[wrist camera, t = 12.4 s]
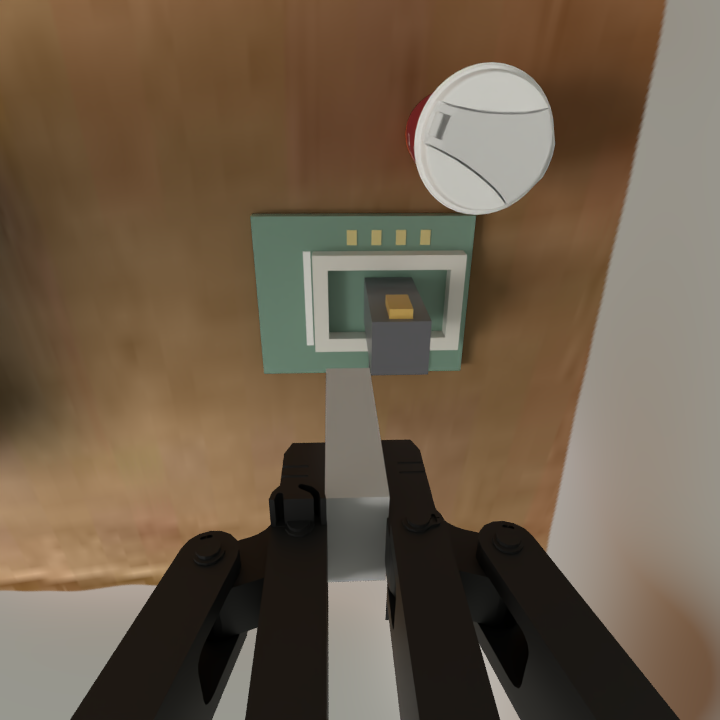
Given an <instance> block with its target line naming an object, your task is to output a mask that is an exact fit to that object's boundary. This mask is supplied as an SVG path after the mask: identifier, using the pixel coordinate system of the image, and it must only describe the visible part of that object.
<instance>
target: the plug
mask: <svg viewBox="0 0 720 720" xmlns="http://www.w3.org/2000/svg"><path fill="white" fill-rule="evenodd" d="M431 325H432V321H431V319H430V316H429V314H428V312H427V310H426V308H425V305H424V303H423V301H422V299H421V297H420V294H419V292H418V290H417V288H416V286H415V283H414V281H413V279H412V277H371V278H364V326H365V334H366V341H367V348H368V356H369V363H370V370H371V375H416V374H428V367H429V353H430V339H431Z"/></svg>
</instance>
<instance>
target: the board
mask: <svg viewBox="0 0 720 720" xmlns="http://www.w3.org/2000/svg"><path fill="white" fill-rule="evenodd" d="M250 218H251V229H252V241H253V252H254V263H255V275H256V286H257V298H258V309H259V320H260V332H261V343H262V355H263V366H264V374H274V373H326V369H331V368H370V363H369V356H368V348H367V341H366V334H365V326H364V278H371V277H412V279H413V281H414V283H415V286H416V288H417V290H418V292H419V294H420V297H421V299H422V301H423V303H424V305H425V308H426V310H427V312H428V314H429V316H430V319H431V321H432V325H431V339H430V353H429V367H428V371H459V370H460V367H461V358H462V348H463V338H464V328H465V319H466V309H467V299H468V289H469V279H470V270H471V260H472V250H473V240H474V231H475V221H476V215H473V214H465V213H326V214H252V215H251V216H250ZM370 373H371V370H370Z"/></svg>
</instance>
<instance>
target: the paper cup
mask: <svg viewBox="0 0 720 720" xmlns="http://www.w3.org/2000/svg"><path fill="white" fill-rule="evenodd" d="M405 137H406V144H407V148H408V151H409V153H410V155H411V157H412V159H413V160H414V162H415V163H416V166H417V169H418V172H419V175H420V177H421V179H422V181H423V183H424V185H425V187H426V188H427V189H428V191H429V192H430V193H431V195H432V196H433V197H434V198H436V199H437V200H438V201H439V202H440V203H442V204H443V205H445V206H446V207H448V208H450V209H452V210H454V211H457V212H461V213H465V214H473V215H480V214H489V213H493V212H497V211H499V210H502V209H504V208H507V207H508V206H510V205H512V204H514V203H515V202H517V201H518V200H519V199H521V198H522V197H523V196H524V195H526V194H527V192H528V191H529V190H530V189H531V188H532V187H533V186H534V185H535V184H536V183H537V182H538V181H539V180H540V179H542V178H543V176H544V174H545V172H546V170H547V168H548V166H549V164H550V161H551V158H552V156H553V151H554V147H555V137H554V124H553V116H552V111H551V107H550V105H549V102H548V99H547V97H546V95H545V94H544V92H543V90H542V89H541V87H540V86H539V85H538V84H537V82H536V81H535V80H534V79H533V78H532V77H530V76H529V75H528V74H527V73H525V72H524V71H522V70H520V69H518V68H516V67H514V66H511V65H507V64H504V63H495V62H490V63H480V64H476V65H472V66H469V67H466V68H464V69H462V70H460V71H458V72H456V73H455V74H453V75H452V76H450V77H449V78H447V79H446V80H445V81H444V82H443V83H442V84H441V85H439V86H438V88H437V89H436V90H435V91H434V92H433V93H432V94H430V95H428V96H427V97H425V98H424V99H423V100H422V101H420V102H419V103H418V104H417V106H416V107H415V108H414V109H413V111H412V113H411V114H410V116H409V119H408V122H407V125H406V133H405Z"/></svg>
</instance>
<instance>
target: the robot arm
mask: <svg viewBox="0 0 720 720" xmlns="http://www.w3.org/2000/svg"><path fill="white" fill-rule="evenodd" d="M269 508H270V520H271V525H270V526H269V527H268V528H267V529H266V530H264V531H263V532H261V533H259V534H257V535H255V536H252V537H249V538H246V539H242V540H239V541H237V540H236V539H235V538H234V537H233V536H232V535H231V534H228V533H226V532H223V531H209V532H205V533H202V534H199V535H197V536H195V537H193V538H192V539H190V540H189V541H188V542H187V543H186V544H185V545H184V546H183V547H182V548H181V550H180V551H179V553H178V554H177V556H176V557H175V559H174V560H173V562H172V564H171V565H170V567H169V568H168V570H167V571H166V573H165V574H164V576H163V577H162V579H161V580H160V582H159V584H158V585H157V587H156V588H155V590H154V591H153V593H152V594H151V596H150V598H149V599H148V601H147V602H146V604H145V605H144V607H143V608H142V610H141V611H140V613H139V614H138V616H137V617H136V619H135V621H134V622H133V624H132V625H131V627H130V628H129V630H128V631H127V633H126V634H125V636H124V638H123V639H122V641H121V642H120V644H119V645H118V647H117V649H116V650H115V651H114V653H113V655H112V656H111V658H110V659H109V661H108V662H107V664H106V665H105V667H104V669H103V670H102V671H101V673H100V675H99V676H98V678H97V679H96V681H95V682H94V684H93V685H92V687H91V688H90V690H89V692H88V693H87V695H86V696H85V698H84V699H83V701H82V702H81V704H80V706H79V707H78V709H77V710H76V712H75V713H74V715H73V716H72V718H71V720H212V718H213V716H214V713H215V711H216V708H217V706H218V703H219V701H220V699H221V696H222V694H223V691H224V689H225V687H226V684H227V682H228V679H229V677H230V675H231V672H232V670H233V667H234V665H235V663H236V660H237V658H238V655H239V653H240V651H241V648H242V646H243V643H244V641H245V639H246V636H247V632H248V631H249V630H251V629H254V628H257V627H258V628H257V635H256V643H255V651H254V658H253V665H252V673H251V681H250V688H249V696H248V703H247V710H246V717H245V720H328V582H349V581H376V580H385V579H386V576H387V583H388V584H387V602H386V620H389V623H390V632H391V641H392V649H393V658H394V667H395V675H396V684H397V693H398V702H399V710H400V719H401V720H500V717H499V714H498V710H497V707H496V703H495V700H494V696H493V692H492V689H491V685H490V681H489V678H488V675H487V671H486V667H485V663H484V660H483V656H482V653H481V649H480V646H481V648H482V650H483V651H484V653H485V655H486V657H487V659H488V661H489V662H490V664H491V666H492V668H493V670H494V672H495V674H496V675H497V677H498V679H499V681H500V683H501V685H502V686H503V688H504V690H505V692H506V694H507V696H508V698H509V699H510V701H511V703H512V705H513V707H514V709H515V711H516V712H517V714H518V716H519V718H520V719H521V720H680V719H679V718H678V717H677V716H676V714H675V713H674V712H673V711H672V709H671V708H670V707H669V706H668V704H667V703H666V702H665V701H664V700H663V698H662V697H661V696H660V694H659V693H658V692H657V691H656V689H655V688H654V687H653V686H652V685H651V683H650V682H649V681H648V679H647V678H646V677H645V676H644V674H643V673H642V672H641V671H640V669H639V668H638V667H637V666H636V664H635V663H634V662H633V661H632V659H631V658H630V657H629V656H628V654H627V653H626V652H625V651H624V649H623V648H622V647H621V646H620V644H619V643H618V642H617V641H616V639H615V638H614V637H613V636H612V634H611V633H610V632H609V631H608V630H607V628H606V627H605V626H604V624H603V623H602V622H601V621H600V620H599V618H598V617H597V616H596V615H595V613H594V612H593V611H592V609H591V608H590V607H589V606H588V604H587V603H586V602H585V601H584V599H583V598H582V597H581V596H580V595H579V593H578V592H577V591H576V590H575V588H574V587H573V586H572V585H571V583H570V582H569V581H568V580H567V578H566V577H565V576H564V575H563V573H562V572H561V571H560V570H559V569H558V567H557V566H556V565H555V563H554V562H553V561H552V560H551V558H550V557H549V556H548V555H547V553H546V552H545V551H544V550H543V548H542V547H541V546H540V545H539V543H538V542H537V541H536V540H535V538H534V537H533V536H532V535H531V534H530V533H529V532H528V531H527V530H526V529H524V528H522V527H520V526H518V525H516V524H514V523H510V522H505V521H496V522H491V523H489V524H486V525H484V527H483V528H482V529H481V530H480V532H479V533H477V532H473V531H468V530H464V529H461V528H457V527H455V526H453V525H451V524H449V523H447V522H446V521H445V520H444V519H443V517H442V515H441V514H440V513H439V512H438V511H437V510H436V508H435V505H434V502H433V498H432V494H431V490H430V487H429V483H428V479H427V475H426V473H425V468H424V464H423V460H422V457H421V453H420V450H419V449H418V447H417V446H416V445H415V444H414V443H413V442H412V441H411V440H381V438H380V432H379V426H378V419H377V413H376V406H375V400H374V394H373V387H372V381H371V375H370V368H331V369H326V435H325V443H292V445H291V446H290V447H289V448H288V450H287V451H286V452H285V454H284V459H283V468H282V475H281V483H280V486H279V487H278V488H276V489H275V490H274V491H273V492H272V494H271V496H270V498H269ZM479 644H480V645H479Z"/></svg>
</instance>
